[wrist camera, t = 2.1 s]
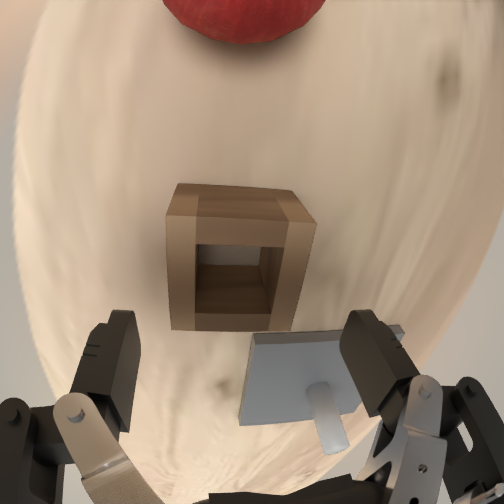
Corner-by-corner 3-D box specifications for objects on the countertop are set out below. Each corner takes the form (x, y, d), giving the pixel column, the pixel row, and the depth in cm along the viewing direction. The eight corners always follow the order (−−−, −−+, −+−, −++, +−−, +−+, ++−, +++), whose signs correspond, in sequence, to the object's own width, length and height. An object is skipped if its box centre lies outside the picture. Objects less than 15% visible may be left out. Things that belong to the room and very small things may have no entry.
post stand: (253, 333, 19) (270, 426, 13) (399, 324, 21) (440, 390, 15) (238, 417, 25) (246, 481, 19) (350, 404, 27) (371, 458, 21)
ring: (177, 183, 14) (165, 215, 10) (291, 190, 14) (316, 223, 11) (177, 279, 16) (171, 329, 13) (274, 282, 17) (290, 330, 14)
